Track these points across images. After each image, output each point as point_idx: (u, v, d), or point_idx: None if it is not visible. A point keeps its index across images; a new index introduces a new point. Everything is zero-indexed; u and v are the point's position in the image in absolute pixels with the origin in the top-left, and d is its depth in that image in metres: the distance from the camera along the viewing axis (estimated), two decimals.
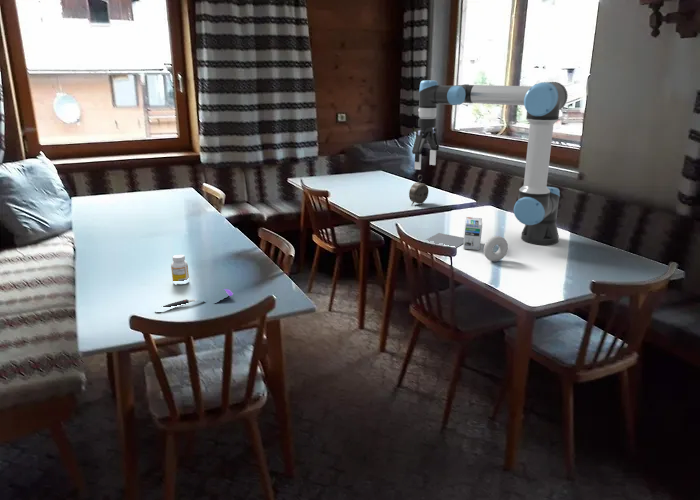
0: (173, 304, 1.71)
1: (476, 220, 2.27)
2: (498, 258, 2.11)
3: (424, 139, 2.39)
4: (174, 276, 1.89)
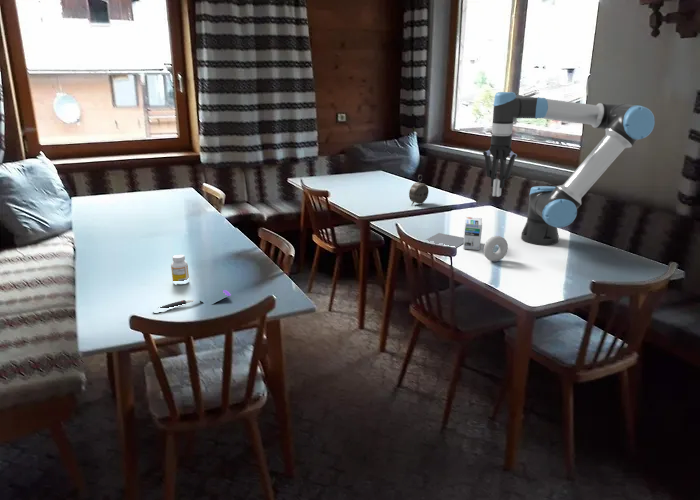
0: (171, 305, 1.70)
1: (476, 220, 2.27)
2: (498, 258, 2.11)
3: (493, 160, 2.14)
4: (174, 276, 1.89)
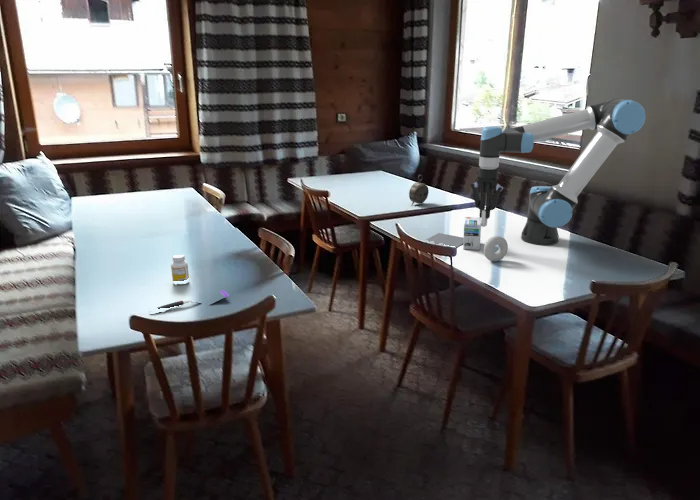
0: (168, 305, 1.70)
1: (475, 220, 2.27)
2: (498, 258, 2.11)
3: None
4: (174, 276, 1.89)
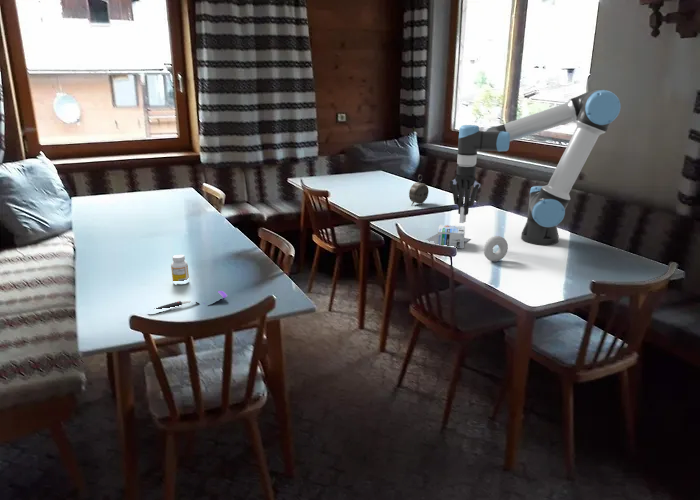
0: (166, 306, 1.70)
1: None
2: (498, 258, 2.11)
3: (459, 189, 2.25)
4: (174, 276, 1.89)
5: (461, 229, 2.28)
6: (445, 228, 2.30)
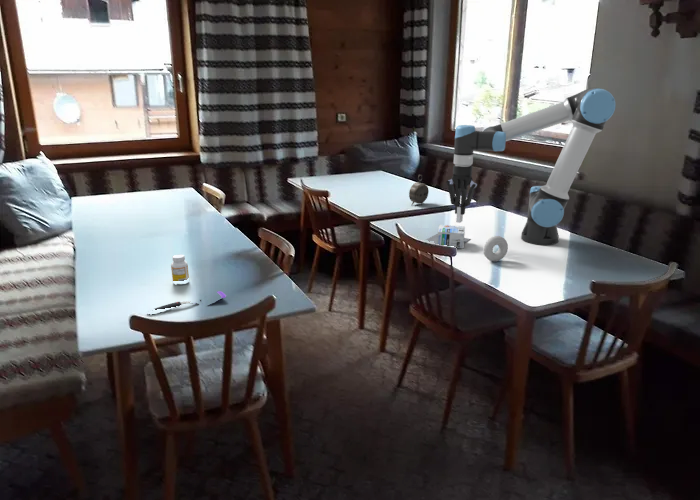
0: (165, 306, 1.69)
1: None
2: (498, 258, 2.11)
3: None
4: (174, 276, 1.89)
5: (461, 229, 2.28)
6: (445, 228, 2.30)
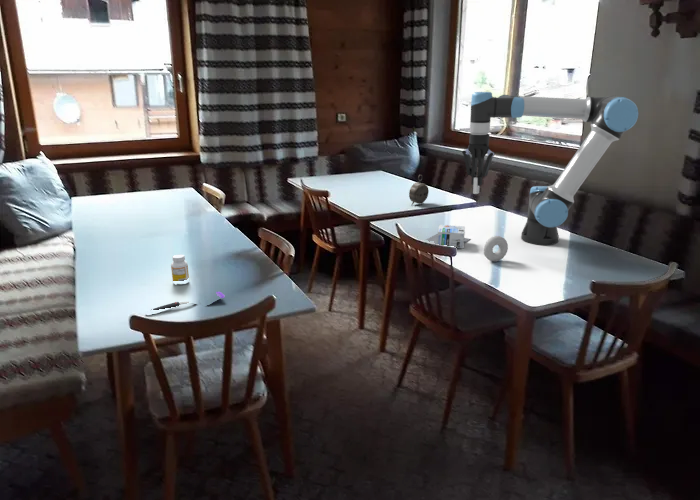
0: (164, 307, 1.69)
1: None
2: (498, 258, 2.11)
3: (472, 159, 2.19)
4: (174, 276, 1.89)
5: (461, 229, 2.28)
6: (445, 228, 2.30)
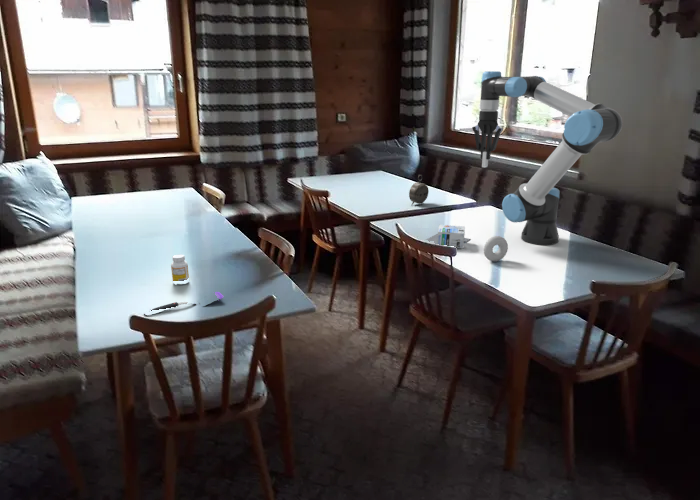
0: (162, 307, 1.69)
1: None
2: (498, 258, 2.11)
3: (481, 134, 2.35)
4: (174, 276, 1.89)
5: (461, 229, 2.28)
6: (445, 228, 2.30)
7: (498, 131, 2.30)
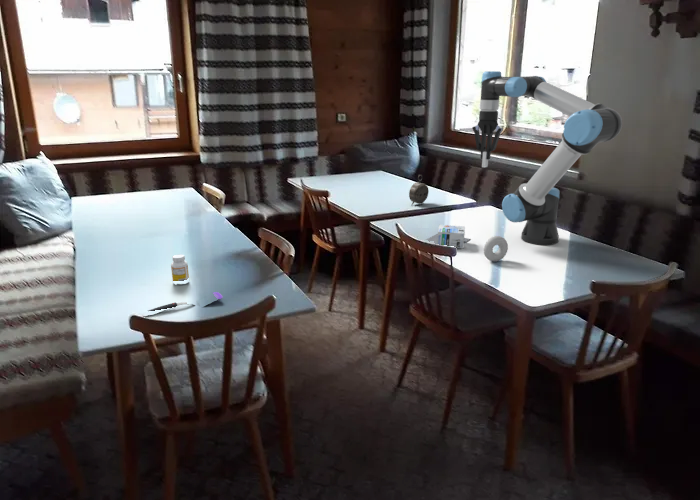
0: (161, 307, 1.69)
1: None
2: (498, 258, 2.11)
3: None
4: (174, 276, 1.89)
5: (461, 229, 2.28)
6: (445, 228, 2.30)
7: (498, 131, 2.30)
